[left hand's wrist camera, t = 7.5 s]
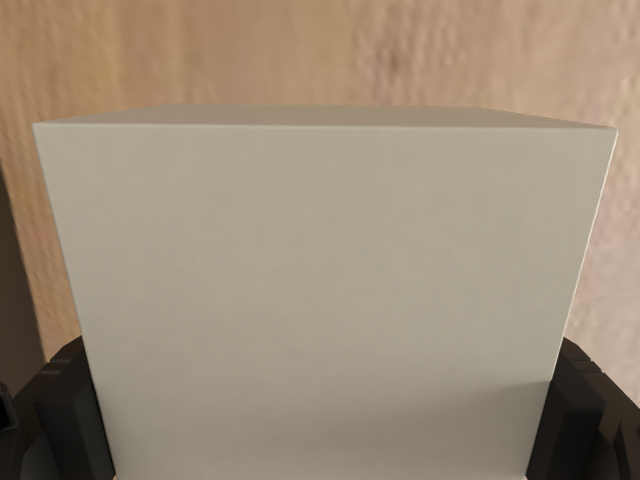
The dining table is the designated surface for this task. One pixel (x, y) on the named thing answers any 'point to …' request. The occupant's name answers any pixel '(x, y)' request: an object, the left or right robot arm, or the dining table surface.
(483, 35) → the dining table surface
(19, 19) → the dining table surface
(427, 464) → the beam
